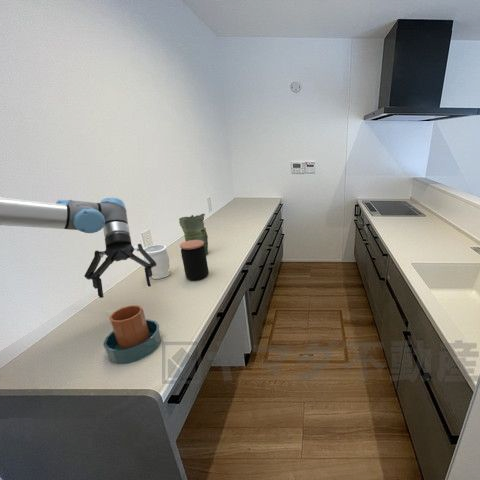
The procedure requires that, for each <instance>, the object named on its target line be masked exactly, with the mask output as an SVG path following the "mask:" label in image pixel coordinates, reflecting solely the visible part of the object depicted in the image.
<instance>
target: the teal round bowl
mask: <svg viewBox="0 0 480 480" xmlns="http://www.w3.org/2000/svg"><path fill="white" fill-rule="evenodd" d="M145 319H146V323H147V326H148V330H149V334H150V338H149V339H148V340H146V341H145V342H143V343H141V344H139V345H137V346H134V347H131V348H127V349H119V346H118V343H117V340H116V337H115V334H114V331H113V330H112V331H111V332H109V334H108V335H107V336H106V337H105V338H104V341H103V345H102V346H103V348H104V351H105V353H106V356H107V358H108V361H109V362H111V363H113V364H116V365H124V364H131V363H134V362H137V361H140V360H142V359H144V358H146V357H148V356H150V355H151V354H153V352H155V351H156V350H157V349H158V348H159V347H160V345H161V344H162V342H163V340H162V339H163V335H162V330H161V328H160V324H159V323H158V321H156V320H153V319H150V318H148V319H147V318H145Z"/></svg>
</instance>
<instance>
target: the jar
mask: <svg viewBox="0 0 480 480" xmlns="http://www.w3.org/2000/svg"><path fill="white" fill-rule="evenodd" d="M143 249H144V250H145V251H146V253H147V254H148V255H149V256H150V257H151V258H152V259H153V260H154V261H155V262H156V266H155V267H152V269H151V270H152V277H150V279H154V280H160V279H165V278H166V277H168V276H169V275H170V274H171V273H170V271H169V270H170V257H169V253H168V251H167V249H168V248H167V246H166V245H165V244H153V245H148V246H146V247H143ZM143 260H144V261H145V262H147V263H148V264H150V262H149V261H148V260H147V259H146V258H145V257H144V256H143Z"/></svg>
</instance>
